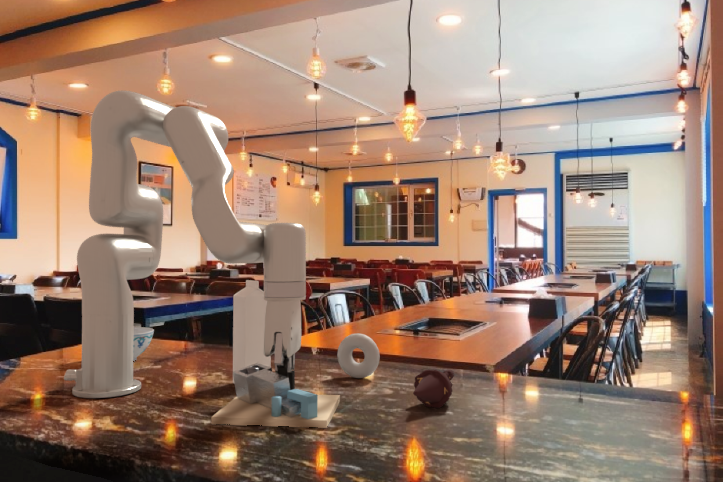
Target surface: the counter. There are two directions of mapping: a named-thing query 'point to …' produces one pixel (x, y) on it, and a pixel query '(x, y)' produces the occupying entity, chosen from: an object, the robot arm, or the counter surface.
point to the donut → (369, 351)
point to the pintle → (252, 370)
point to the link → (265, 388)
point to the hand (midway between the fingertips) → (285, 393)
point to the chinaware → (141, 340)
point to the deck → (261, 415)
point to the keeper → (304, 397)
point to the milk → (249, 327)
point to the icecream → (433, 387)
